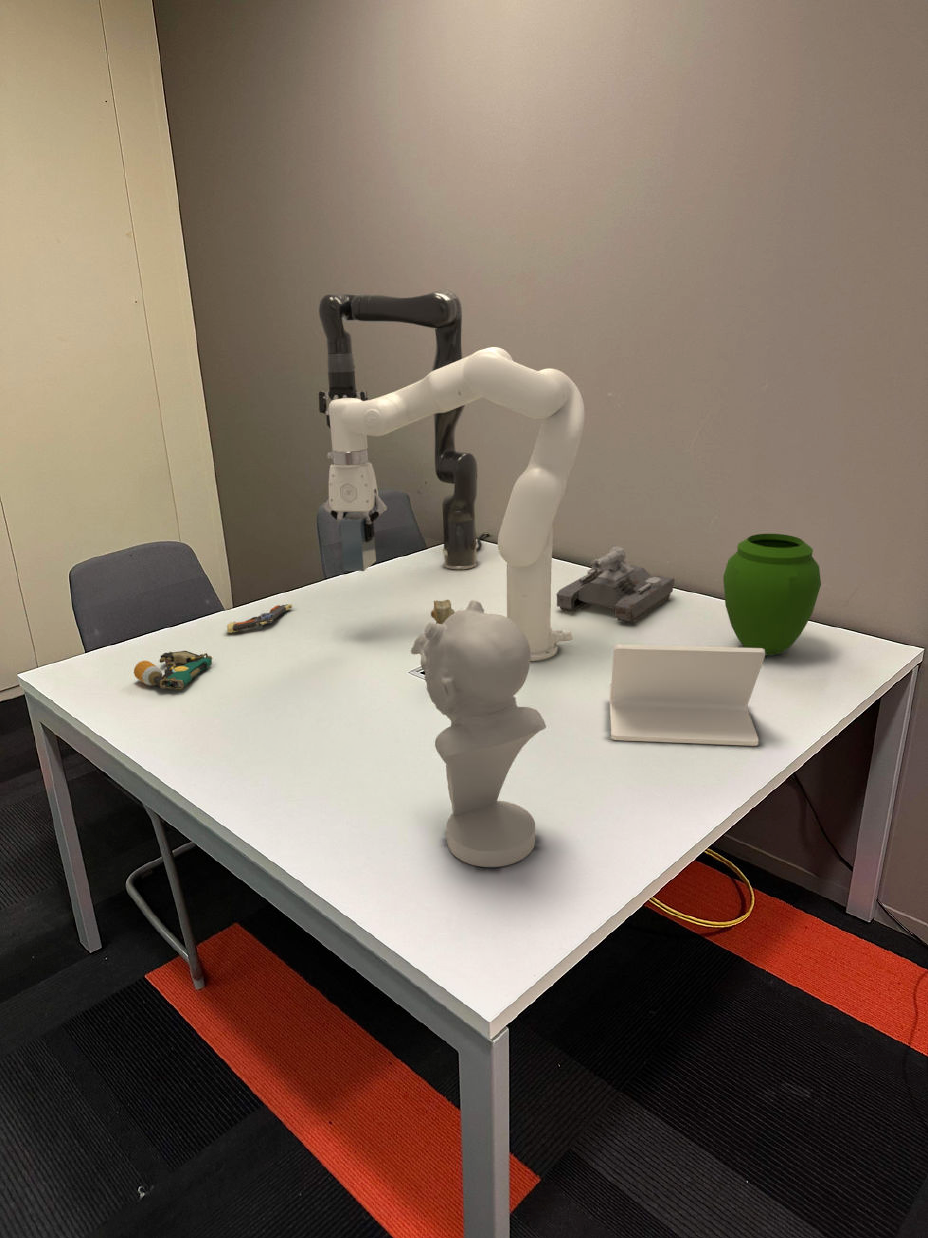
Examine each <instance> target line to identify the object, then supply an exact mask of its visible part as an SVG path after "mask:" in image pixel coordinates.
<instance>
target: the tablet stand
mask: <svg viewBox="0 0 928 1238" xmlns="http://www.w3.org/2000/svg"><path fill="white" fill-rule="evenodd" d="M765 656H766V655H765V650H764V649H763V648H744V647H730V646H692V645H690V646H689V645H688V646H687V645H658V644H655V645H654V644H620V643H619V644H615V645H614V646H613V657H612V667H611V668H612V669H611V680H610V681H611V682H610V684H609V716H610V717H609V719H610V739H612V740H614V741H632V742H633V741H634V742H653V743H654V742H655V743H677V744H678V743H679V744H704V745H724V746H725V745H727V746H729V745H730V746H731V745H732V746H748V747H749V746H752V747H756V746H758V745H759V741H760V740H759V737H758V734H757V731H756V729H755V725H754V723H753V721H752V718H751V716H750V713H749V702H750V700H751V697H752V694H753V691H754V689H755V687H756V686H755V685H756V683H757V680H758V677H759V674H760V671H761V668H762V666H763V663H764V660H765Z"/></svg>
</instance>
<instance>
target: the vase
mask: <svg viewBox="0 0 928 1238" xmlns="http://www.w3.org/2000/svg"><path fill="white" fill-rule="evenodd" d="M736 549H737V551H735V553H734V554H732V555H731V556H730V557H729V558H728V560H727V563H726V566H725V569H724V573H723V576H722V579H723V581H722V582H723V593H724V604H725V609H726V613H727V615H728V619H729V623H730V626H731V629H732V630H733V632H734V634H735V636H736V638H737V640H738V642H739V643H740V644H741V645H742V647H743V648H763V649H764V650H765V656H776V655H779V654H780V655H781V654H783V653H785V651H787V650H788V649H789V648H790V647H792V646H793V644H795V642H796V641H797V639H798V638H799V637H800V636H801V635H802V634H803V631H804V630H805V627H806V626H807V624H808V622H809V620H810V619H811V616H812V615H813V613H814V610H815V606H816V603H817V599H818V597H819V593H820V590H821V586H822V579H821V570H820V569H821V568H820V566H819V564H818V562H817V561H816V560H815V558H814V557H813V551H814V549H813V548H812V546H810V545H809V544H808V543H807V542H805V541H804V540H803V539H801V538H799V537H797V536H793V535H789V534H783V533H759V534H752V535H750V536H748V537H747V538H745V539H744V540H742V541H740V542H739V543H737V548H736Z"/></svg>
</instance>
